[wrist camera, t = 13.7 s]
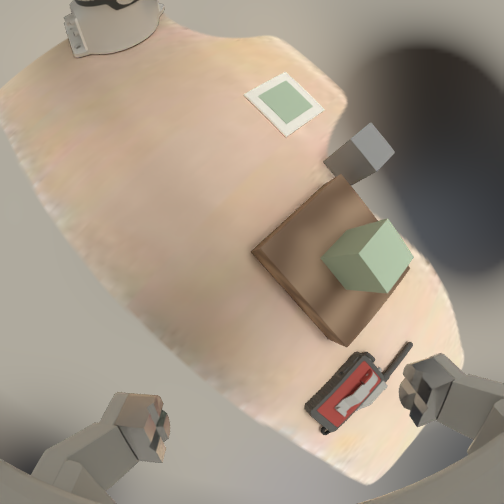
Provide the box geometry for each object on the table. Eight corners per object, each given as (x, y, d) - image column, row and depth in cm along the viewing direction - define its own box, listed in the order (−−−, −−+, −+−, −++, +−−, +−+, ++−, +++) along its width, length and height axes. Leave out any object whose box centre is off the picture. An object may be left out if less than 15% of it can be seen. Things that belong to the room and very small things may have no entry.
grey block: (322, 161, 38) (350, 139, 30) (342, 145, 39) (370, 122, 31) (345, 188, 38) (376, 171, 30) (363, 170, 39) (395, 152, 31)
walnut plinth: (251, 251, 35) (260, 248, 30) (323, 184, 37) (340, 173, 33) (328, 339, 36) (347, 347, 31) (388, 269, 39) (409, 268, 34)
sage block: (320, 258, 31) (358, 253, 23) (346, 229, 32) (387, 218, 24) (345, 289, 32) (387, 293, 24) (370, 260, 33) (413, 257, 25)
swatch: (243, 95, 36) (244, 93, 36) (284, 72, 38) (285, 71, 37) (285, 137, 37) (286, 136, 36) (324, 110, 39) (325, 109, 38)
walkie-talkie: (327, 436, 36) (409, 345, 39) (340, 450, 31) (426, 350, 35) (294, 410, 35) (385, 311, 39) (305, 424, 31) (403, 314, 34)
